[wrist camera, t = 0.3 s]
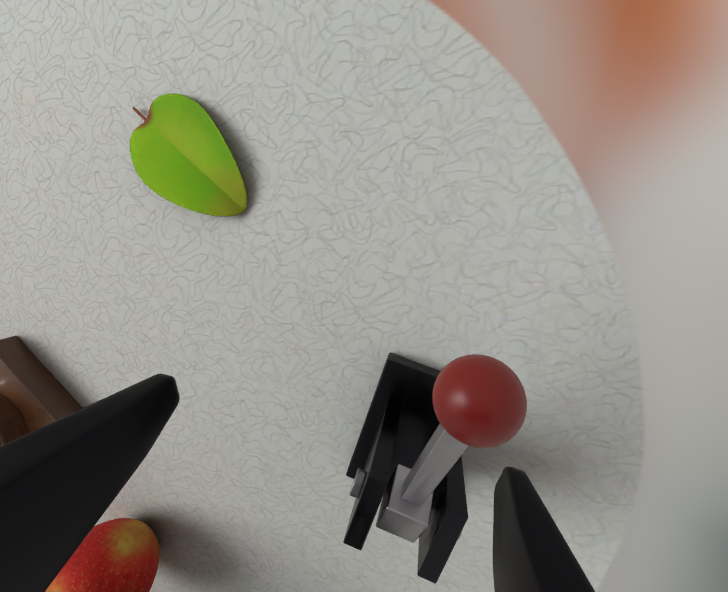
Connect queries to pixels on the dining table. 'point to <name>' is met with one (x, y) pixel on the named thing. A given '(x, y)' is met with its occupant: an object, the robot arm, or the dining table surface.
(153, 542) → the apple
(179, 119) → the decorative leaf
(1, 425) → the button block
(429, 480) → the switch
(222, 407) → the dining table surface
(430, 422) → the bracket
